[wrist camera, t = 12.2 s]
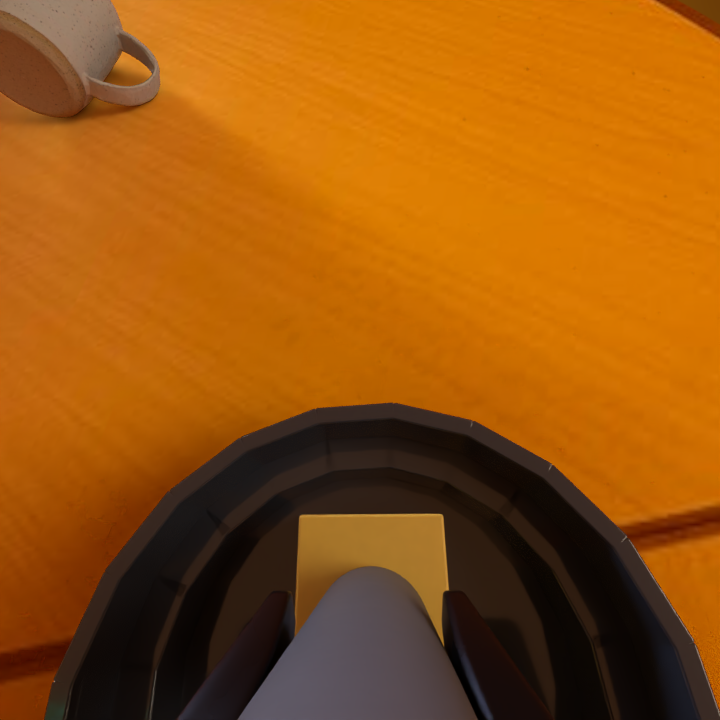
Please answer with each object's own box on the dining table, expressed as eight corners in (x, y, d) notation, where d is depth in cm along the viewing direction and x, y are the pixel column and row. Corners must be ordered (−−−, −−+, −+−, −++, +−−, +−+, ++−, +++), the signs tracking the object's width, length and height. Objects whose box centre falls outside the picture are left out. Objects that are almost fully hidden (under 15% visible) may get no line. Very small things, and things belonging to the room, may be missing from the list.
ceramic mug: (13, 125, 30) (-96, -3, 23) (56, 62, 33) (-27, -65, 27) (149, 128, 29) (80, -3, 22) (179, 63, 33) (127, -67, 26)
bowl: (735, 723, 13) (913, 808, 9) (333, 1321, 9) (288, 2045, 5) (395, 370, 20) (399, 316, 15) (64, 632, 16) (-65, 664, 11)
